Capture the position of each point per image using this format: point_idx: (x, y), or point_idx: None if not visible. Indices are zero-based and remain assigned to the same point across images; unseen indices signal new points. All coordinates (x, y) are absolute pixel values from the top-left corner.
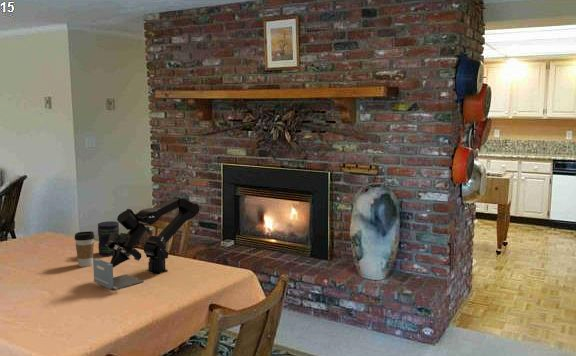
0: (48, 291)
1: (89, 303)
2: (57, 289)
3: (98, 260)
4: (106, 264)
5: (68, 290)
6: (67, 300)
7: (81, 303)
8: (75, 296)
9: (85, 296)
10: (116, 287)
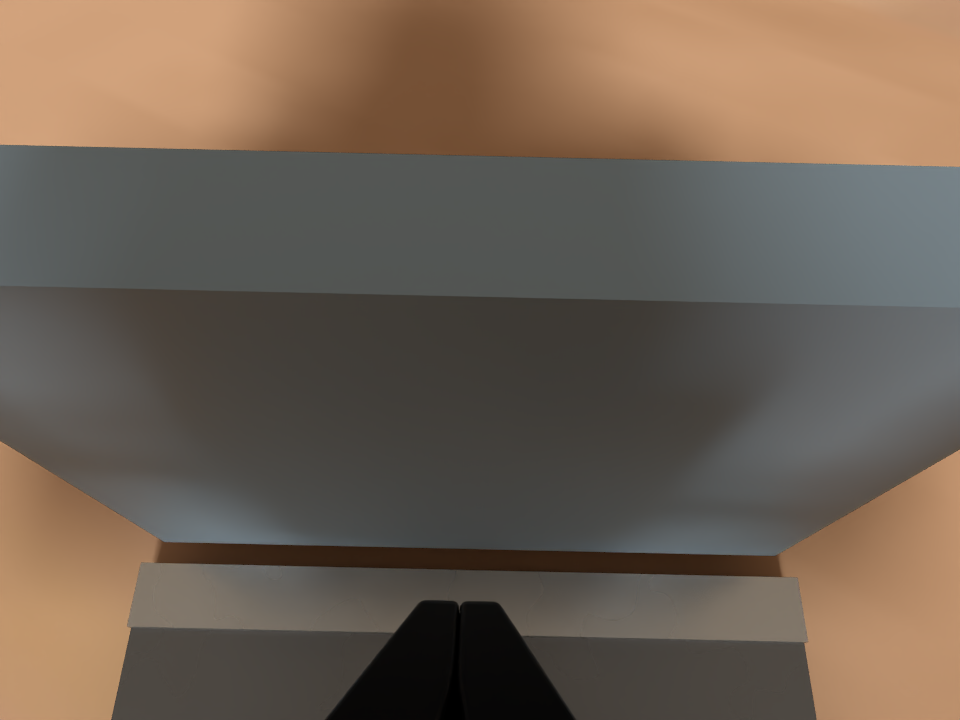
0: (852, 6)
1: (76, 89)
2: (862, 83)
3: (764, 195)
4: (42, 159)
5: (728, 140)
6: (389, 4)
7: (164, 44)
8: (438, 99)
9: None
10: (171, 621)
